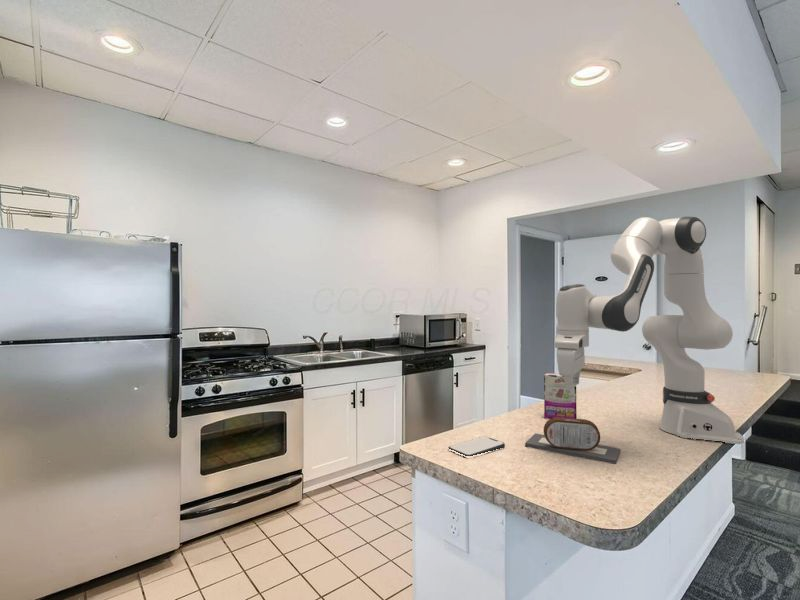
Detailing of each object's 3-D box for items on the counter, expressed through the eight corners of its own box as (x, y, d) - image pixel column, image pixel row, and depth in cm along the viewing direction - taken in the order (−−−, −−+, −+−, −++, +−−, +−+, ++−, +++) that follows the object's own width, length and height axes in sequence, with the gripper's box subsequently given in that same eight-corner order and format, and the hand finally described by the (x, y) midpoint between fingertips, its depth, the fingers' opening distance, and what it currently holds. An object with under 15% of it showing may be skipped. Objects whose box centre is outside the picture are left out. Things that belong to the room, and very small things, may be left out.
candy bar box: (576, 418, 152) (576, 374, 152) (576, 422, 147) (576, 376, 147) (544, 415, 156) (544, 372, 156) (543, 418, 151) (544, 374, 151)
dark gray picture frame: (620, 452, 117) (620, 448, 117) (616, 464, 108) (616, 460, 108) (535, 436, 130) (535, 433, 130) (525, 446, 121) (525, 442, 121)
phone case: (468, 461, 111) (507, 448, 120) (468, 456, 111) (506, 443, 120) (446, 452, 118) (484, 440, 127) (446, 446, 118) (484, 435, 127)
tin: (599, 449, 116) (599, 419, 116) (601, 453, 113) (601, 422, 113) (543, 444, 120) (543, 415, 120) (544, 447, 117) (544, 418, 117)
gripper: (568, 336, 130) (568, 380, 130) (552, 342, 113) (553, 392, 113) (589, 337, 126) (589, 382, 126) (577, 343, 109) (577, 395, 109)
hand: (572, 387), depth 119 cm, fingers open, 8 cm apart
